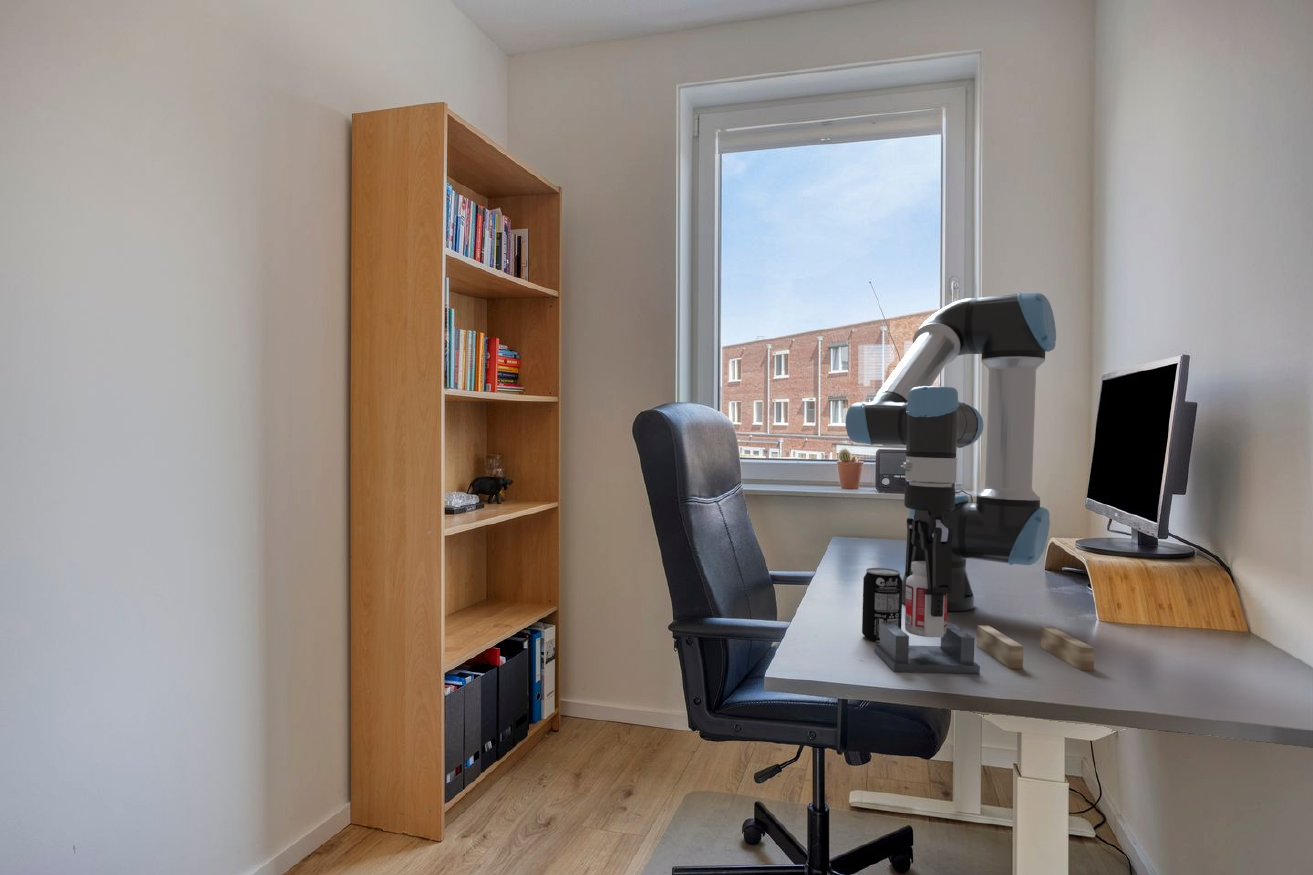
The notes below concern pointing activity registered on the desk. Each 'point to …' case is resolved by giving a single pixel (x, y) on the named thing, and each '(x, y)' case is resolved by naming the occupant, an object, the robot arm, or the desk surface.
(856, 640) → the desk surface
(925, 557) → the robot arm
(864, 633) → the beverage can
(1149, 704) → the desk surface
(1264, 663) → the desk surface
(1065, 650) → the guide channel
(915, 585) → the pill bottle
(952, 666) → the cradle
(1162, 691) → the desk surface
